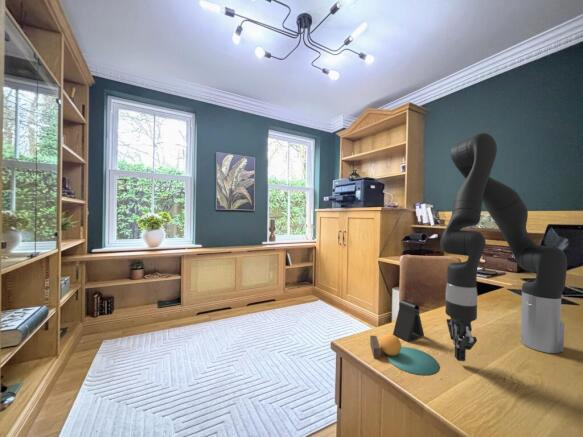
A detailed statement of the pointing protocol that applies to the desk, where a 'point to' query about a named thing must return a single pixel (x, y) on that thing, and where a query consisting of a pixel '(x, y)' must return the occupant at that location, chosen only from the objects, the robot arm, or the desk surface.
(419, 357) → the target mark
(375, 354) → the stop bar
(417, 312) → the phone stand
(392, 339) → the ball
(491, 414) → the desk surface
